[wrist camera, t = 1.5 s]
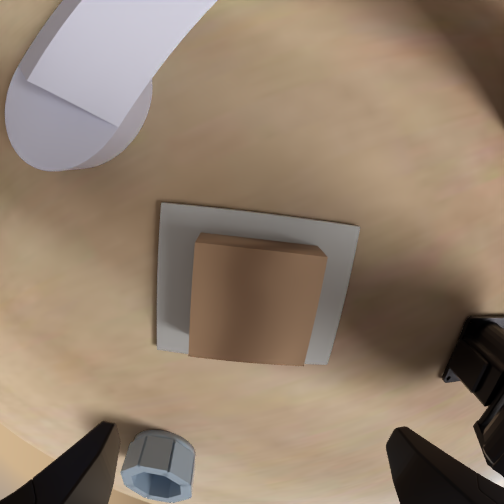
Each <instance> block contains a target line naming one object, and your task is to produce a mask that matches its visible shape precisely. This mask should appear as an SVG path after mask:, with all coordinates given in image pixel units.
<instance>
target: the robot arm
mask: <svg viewBox="0 0 504 504" xmlns="http://www.w3.org/2000/svg"><path fill="white" fill-rule="evenodd" d="M470 322H471V323H470ZM442 380H443V381H444V382H445V383H448V382H456V381H461V382H462V383H463V384H464V385H465V386H466V387H467V388H468V390H469V391H470V392H471V393H473V394H474V395H475V396H476V397H477V398H478V399H479V401H480V402H481V403H482V404H483V405H484V406H485V407H486V406H488V408H487V409H486V411H485V412H484V414H483V415H482V416H481V418H480V419H479V420H478V421H476V423H475V424H474V425H473V427H474V430H475V432H476V435H477V438H478V440H479V443H480V446H481V449H482V451H483V454H484V457H485V459H486V462H487V464H488V465H489V466H490V467H491V468H492V469H493V470H495V471H496V472H498V473H499V474H501V475H502V476H503V477H504V316H469V317H468V318H467V319H466V321H465V323H464V326H463V329H462V332H461V334H460V337H459V339H458V342H457V344H456V347H455V349H454V352H453V354H452V356H451V359H450V361H449V363H448V365H447V368H446V370H445V372H444V374H443V376H442ZM119 448H120V438H119V433H118V429H117V426H116V424H115V423H113V422H108V421H102V422H101V423H100V424H98V425H97V426H96V427H95V428H94V429H92V430H91V431H90V432H89V433H88V434H86V435H85V436H84V437H83V438H82V439H80V440H79V441H78V442H77V443H76V444H74V445H73V446H72V447H71V448H69V449H68V450H67V451H66V452H65V453H63V454H62V455H61V456H60V457H58V458H57V459H56V460H55V461H53V462H52V463H51V464H50V465H48V466H47V467H46V468H45V469H44V470H42V471H41V472H40V473H38V474H37V475H36V476H35V477H34V478H33V480H32V479H31V480H29V481H28V482H27V483H26V484H24V485H23V486H22V487H20V488H19V489H18V490H16V491H15V492H14V493H12V494H10V495H9V496H7V497H5V498H4V499H2V500H0V504H108V502H109V498H110V495H111V491H112V488H113V484H114V478H115V472H116V466H117V460H118V454H119ZM386 451H387V455H388V460H389V464H390V469H391V474H392V479H393V483H394V486H395V489H396V492H397V495H398V498H399V501H400V504H504V488H503V487H501V486H499V485H497V484H495V483H493V482H492V481H490V480H488V479H486V478H485V477H483V476H481V475H480V474H478V473H476V472H475V471H473V470H472V469H470V468H468V467H467V466H465V465H464V464H462V463H461V462H459V461H457V460H456V459H454V458H453V457H451V456H450V455H448V454H447V453H445V452H444V451H442V450H441V449H439V448H438V447H436V446H435V445H433V444H432V443H430V442H429V441H427V440H426V439H424V438H423V437H421V436H420V435H418V434H417V433H415V432H414V431H412V430H411V429H409V428H408V427H398V428H396V429H394V431H393V433H392V434H391V436H390V438H389V440H388V442H387V444H386Z"/></svg>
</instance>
